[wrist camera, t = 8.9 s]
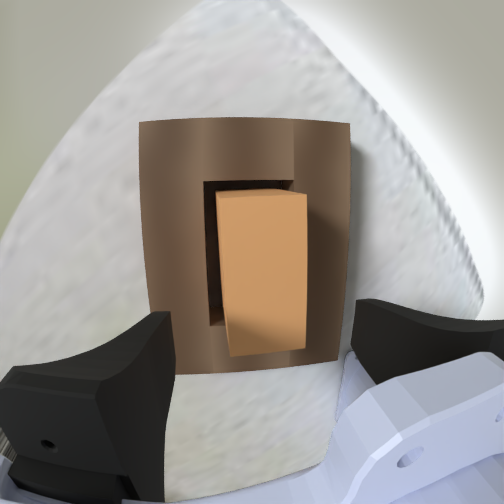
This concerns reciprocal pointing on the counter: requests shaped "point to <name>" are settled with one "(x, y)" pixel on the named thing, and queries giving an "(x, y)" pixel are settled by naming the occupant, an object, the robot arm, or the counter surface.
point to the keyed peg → (263, 268)
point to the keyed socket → (194, 238)
